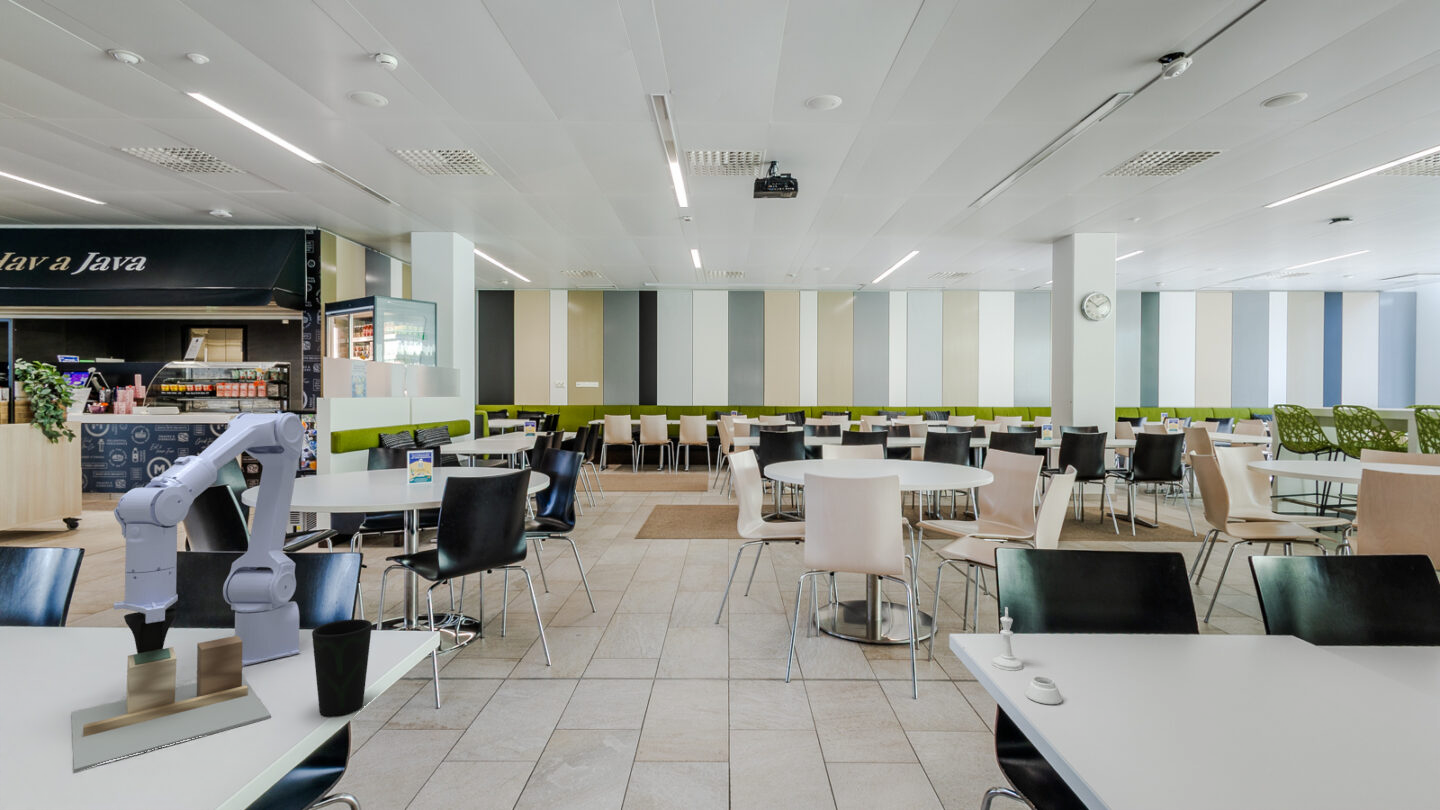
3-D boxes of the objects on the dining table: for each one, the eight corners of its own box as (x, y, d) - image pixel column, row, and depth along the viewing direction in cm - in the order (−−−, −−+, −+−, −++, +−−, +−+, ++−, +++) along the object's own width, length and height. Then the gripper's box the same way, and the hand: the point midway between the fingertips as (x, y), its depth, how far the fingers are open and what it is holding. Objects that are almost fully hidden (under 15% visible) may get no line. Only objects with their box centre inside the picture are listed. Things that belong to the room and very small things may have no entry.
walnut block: (236, 685, 102) (237, 635, 103) (241, 693, 100) (242, 641, 100) (196, 695, 99) (197, 643, 99) (200, 703, 96) (201, 649, 96)
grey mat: (240, 675, 108) (240, 672, 108) (270, 717, 92) (270, 714, 92) (71, 714, 93) (71, 711, 93) (73, 772, 78) (73, 769, 78)
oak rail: (246, 693, 100) (246, 685, 100) (247, 695, 99) (247, 687, 99) (83, 733, 87) (83, 724, 87) (83, 736, 86) (83, 727, 86)
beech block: (171, 697, 97) (173, 645, 96) (174, 710, 94) (176, 657, 93) (126, 708, 93) (127, 654, 92) (128, 721, 90) (129, 666, 90)
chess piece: (991, 668, 111) (991, 609, 111) (991, 658, 115) (990, 602, 116) (1023, 672, 109) (1022, 613, 109) (1021, 662, 113) (1021, 605, 114)
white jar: (1018, 693, 101) (1039, 707, 96) (1018, 674, 101) (1039, 687, 96) (1047, 691, 102) (1069, 705, 97) (1047, 672, 102) (1069, 685, 97)
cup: (382, 701, 98) (383, 622, 98) (338, 724, 91) (339, 638, 91) (344, 694, 100) (345, 617, 101) (298, 715, 93) (299, 632, 93)
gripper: (111, 565, 97) (109, 655, 97) (117, 581, 87) (115, 682, 87) (172, 557, 102) (170, 643, 102) (184, 573, 92) (182, 668, 92)
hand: (149, 661), depth 95 cm, fingers closed
